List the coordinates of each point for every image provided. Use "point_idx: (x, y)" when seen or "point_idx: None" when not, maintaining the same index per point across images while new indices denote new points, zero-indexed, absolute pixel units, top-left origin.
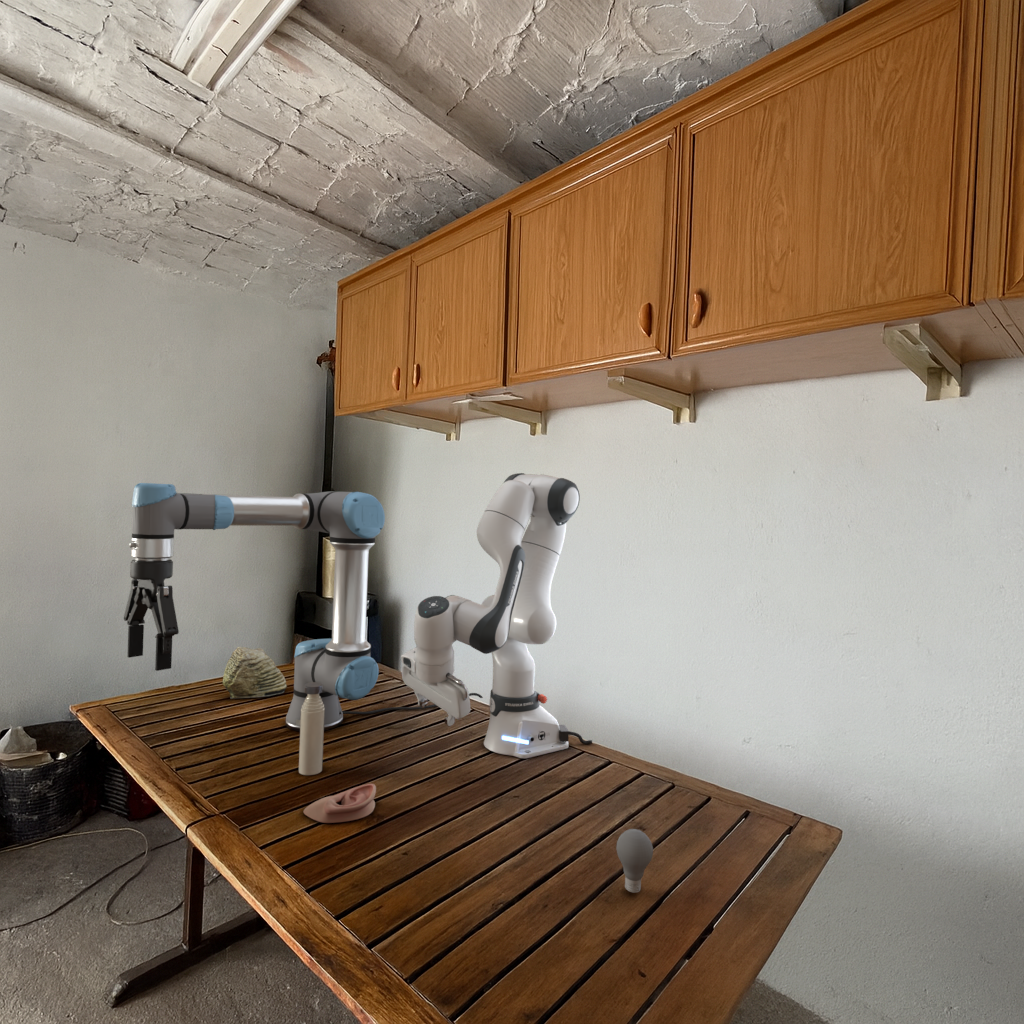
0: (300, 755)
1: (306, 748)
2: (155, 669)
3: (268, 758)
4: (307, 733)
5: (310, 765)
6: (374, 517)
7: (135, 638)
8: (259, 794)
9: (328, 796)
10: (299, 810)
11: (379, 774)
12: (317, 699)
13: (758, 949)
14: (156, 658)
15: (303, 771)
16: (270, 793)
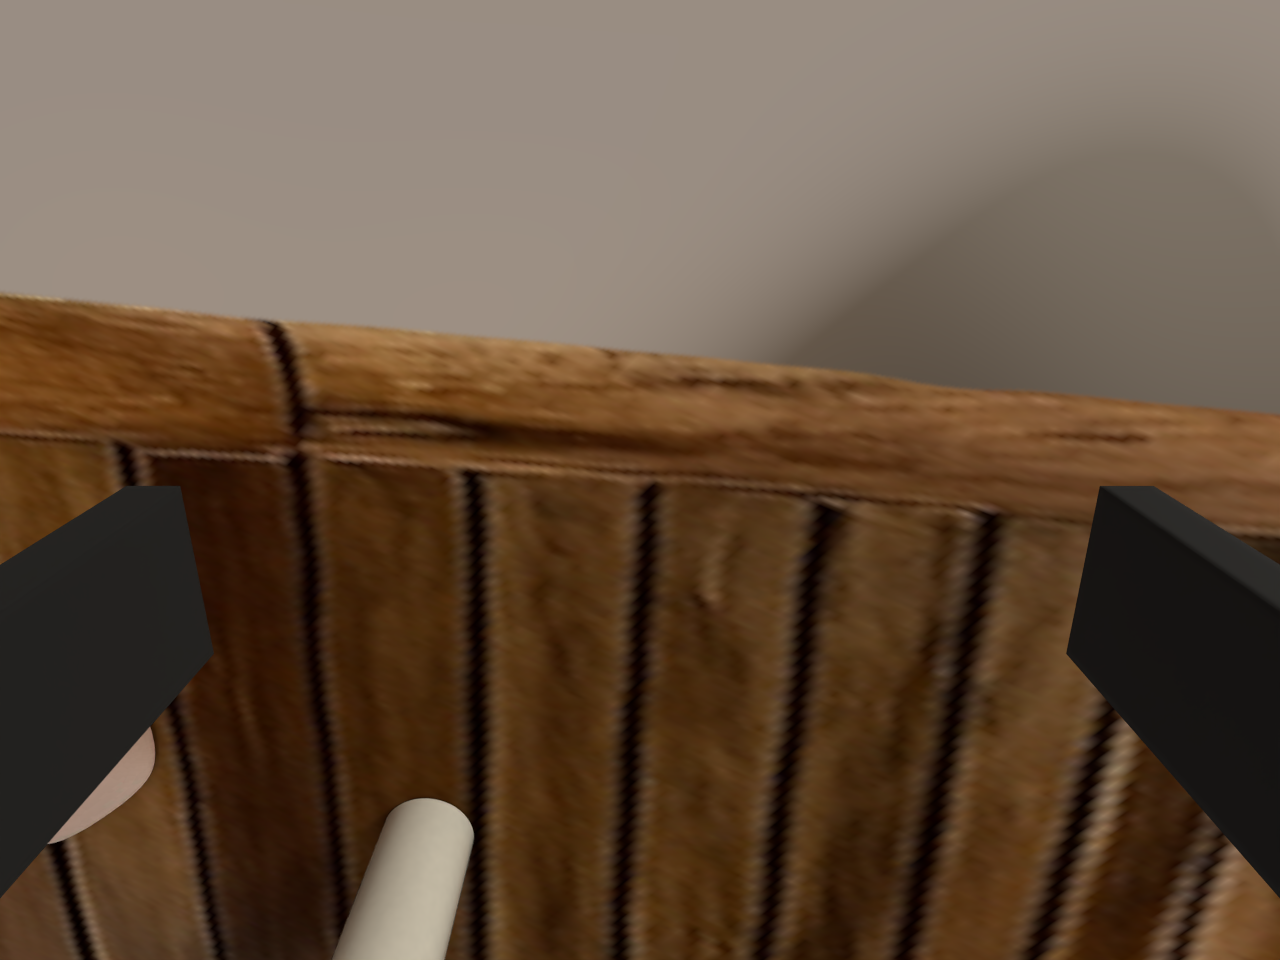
0: (411, 853)
1: (369, 888)
2: (165, 489)
3: (648, 790)
4: (344, 948)
5: (378, 842)
6: None
7: (1268, 725)
8: (358, 621)
9: (132, 760)
10: None
11: (236, 957)
12: None
13: None
14: (40, 560)
15: (405, 809)
16: (339, 651)
